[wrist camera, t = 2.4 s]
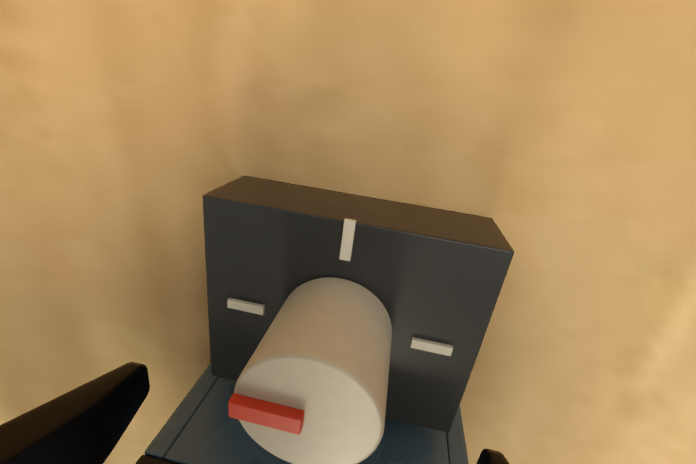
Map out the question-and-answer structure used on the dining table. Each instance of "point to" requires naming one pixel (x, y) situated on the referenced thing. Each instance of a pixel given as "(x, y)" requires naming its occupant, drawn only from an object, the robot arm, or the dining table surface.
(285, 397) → the dial
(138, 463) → the lid
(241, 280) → the control block
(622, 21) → the dining table surface
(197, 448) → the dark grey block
